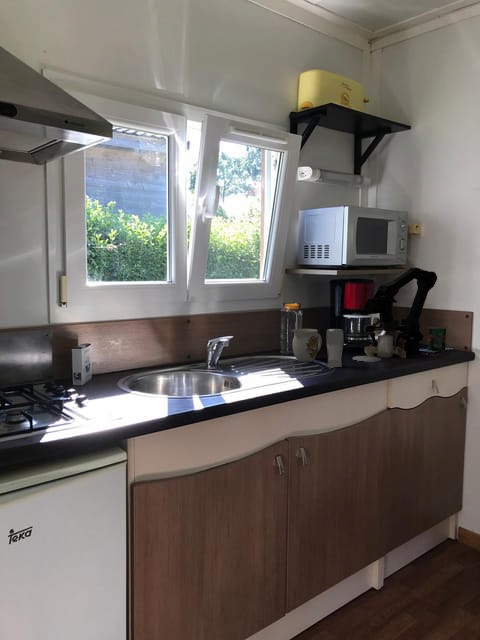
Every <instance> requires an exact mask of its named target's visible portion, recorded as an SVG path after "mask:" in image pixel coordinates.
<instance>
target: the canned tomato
mask: <svg viewBox="0 0 480 640" xmlns="http://www.w3.org/2000/svg"><path fill="white" fill-rule="evenodd" d="M427 339H428V341H427V342H428V343H427V351H429V350H432V351H431V352H435V351H441V352H442V353H443V352H446V345H447V340H446V339H447V327H444V326H428V338H427Z"/></svg>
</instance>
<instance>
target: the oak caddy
mask: <svg viewBox="0 0 480 640" xmlns="http://www.w3.org/2000/svg"><path fill="white" fill-rule="evenodd" d="M377 350H378V346H376V348H375V347H374V346H364V352H365V353H366V354H365V353H364V354H365V356H370V357H374V354H377ZM393 354H396V355H397V356H398V357H400V358H401V359H407V354H406V351H404V350H403V348H401V347H399V346H397V347H396V348H395V346H393Z"/></svg>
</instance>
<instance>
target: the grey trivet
mask: <svg viewBox="0 0 480 640" xmlns="http://www.w3.org/2000/svg"><path fill="white" fill-rule="evenodd" d="M352 360H353V361H354V360H357V361H356V362H359V361H364V362H363V363H377V362H378V361H379V362H382V357H379V356H373V357H370V356H367V355H356V356H353V357H352Z"/></svg>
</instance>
